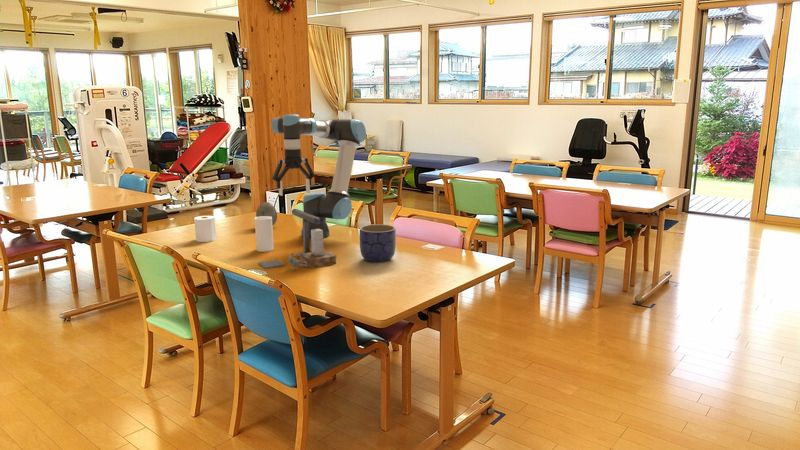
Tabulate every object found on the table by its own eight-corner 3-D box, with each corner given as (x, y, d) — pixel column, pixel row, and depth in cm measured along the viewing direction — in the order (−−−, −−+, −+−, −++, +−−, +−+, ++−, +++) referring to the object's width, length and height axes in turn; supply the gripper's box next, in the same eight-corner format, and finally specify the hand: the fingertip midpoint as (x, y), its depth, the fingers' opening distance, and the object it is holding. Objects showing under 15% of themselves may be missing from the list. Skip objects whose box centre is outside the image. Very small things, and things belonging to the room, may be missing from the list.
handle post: (311, 253, 271) (309, 218, 267) (318, 257, 264) (317, 221, 260) (295, 255, 266) (294, 220, 263) (302, 259, 260) (301, 223, 256)
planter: (368, 266, 249) (368, 233, 246) (354, 257, 263) (353, 226, 260) (402, 261, 256) (402, 229, 253) (386, 253, 271) (385, 222, 267)
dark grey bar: (296, 215, 274) (296, 208, 273) (321, 226, 251) (321, 217, 250) (291, 216, 272) (290, 208, 271) (315, 226, 249) (315, 218, 249)
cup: (269, 252, 273) (267, 219, 269) (253, 251, 274) (251, 219, 271) (276, 247, 281) (274, 216, 277) (260, 247, 282) (259, 215, 279)
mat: (277, 260, 258) (277, 259, 258) (284, 265, 251) (284, 264, 250) (258, 264, 253) (257, 262, 253) (265, 268, 246) (265, 267, 246)
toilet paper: (191, 241, 294) (189, 218, 291) (205, 236, 303) (203, 214, 301) (207, 243, 290) (205, 220, 288) (220, 238, 300) (218, 216, 297)
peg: (320, 260, 258) (319, 228, 255) (323, 262, 255) (322, 230, 252) (312, 262, 256) (310, 229, 253) (315, 264, 253) (314, 231, 249)
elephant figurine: (310, 270, 244) (292, 266, 239) (303, 278, 247) (285, 274, 242) (307, 252, 250) (289, 247, 245) (300, 259, 253) (282, 255, 248)
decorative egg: (275, 230, 319) (273, 203, 316) (254, 229, 319) (252, 203, 316) (279, 225, 330) (278, 200, 327) (259, 225, 331) (258, 200, 327)
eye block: (324, 257, 264) (323, 250, 263) (335, 263, 254) (335, 255, 253) (300, 261, 257) (299, 253, 256) (311, 267, 247) (310, 260, 247)
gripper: (314, 146, 270) (315, 190, 275) (263, 149, 257) (266, 195, 262) (320, 147, 264) (322, 192, 269) (269, 150, 251) (272, 197, 256)
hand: (294, 193), depth 265 cm, fingers open, 13 cm apart
